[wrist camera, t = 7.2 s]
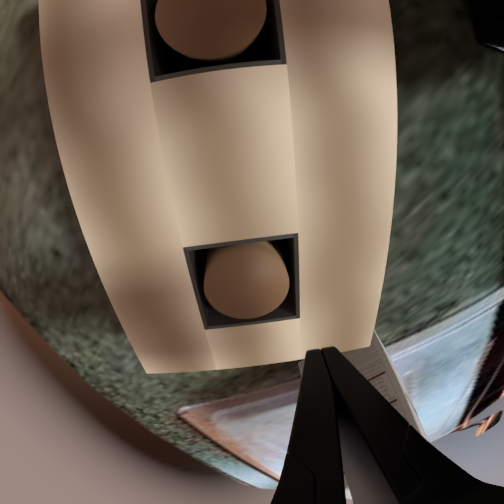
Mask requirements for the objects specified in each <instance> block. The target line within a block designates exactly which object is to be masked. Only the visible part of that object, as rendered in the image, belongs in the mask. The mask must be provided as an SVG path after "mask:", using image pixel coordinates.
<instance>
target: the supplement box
mask: <svg viewBox="0 0 504 504" xmlns="http://www.w3.org/2000/svg"><path fill="white" fill-rule="evenodd" d="M341 353H342V354H343V355H344V356H345V357H346V358H347V359H348V360H349V361H350V362H351V363H352V364H353V366H354V367H355V368H356V369H357V370H358V371H359V372H360V373H361V374H362V375H363V376H364V377H365V378H366V379H367V380H368V381H369V382H370V383H371V384H372V385H373V386H374V387H375V388H376V389H377V390H378V391H379V392H380V393H381V394H382V395H383V396H384V397H385V399H386V400H387V401H388V402H389V403H390V404H391V405H392V406H393V407H394V408H395V409H396V410H397V411H398V412H399V413H400V414H401V415H402V416H403V417H404V418H405V419H406V420H407V421H408V422H409V425H412V426H413V427H414V428H415V429H416V430H417V431H418V432H419V433H420V434H421V435H422V436H423V437H424V438H425V439H426V440H427V441H428V439H427V436H426V434H425V431H424V429H423V427H422V424H421V422H420V420H419V417H418V415H417V413H416V410H415V408H414V406H413V404H412V401H411V399H410V397H409V395H408V392H407V390H406V388H405V386H404V384H403V382H402V380H401V378H400V376H399V374H398V372H397V369H396V367H395V365H394V363H393V361H392V360H391V358H390V357H389V355H388V353H387V351H386V349H385V348H384V346H383V344H382V342H381V341H380V339H379V337H378V335H377V334H376V332H375V330H374V331H373V335H372V340H371V344H370V346H369V347H364V348H360V349H355V350H350V351H345V352H341ZM304 361H305V359H303V360H301V361H300V362H298V366H299V370H300V375H301V379H302V373H303V367H304ZM428 442H429V441H428ZM343 472H344V469H343ZM344 482H345V494H346V499H350V500H352V497H351V493H350V490H349V486H348V483H347V480H346V476H345V473H344Z"/></svg>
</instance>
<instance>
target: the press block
mask: <svg viewBox="0 0 504 504" xmlns="http://www.w3.org/2000/svg"><path fill="white" fill-rule="evenodd" d="M157 2H158V0H39V27H40V42H41V53H42V63H43V71H44V78H45V85H46V92H47V98H48V104H49V110H50V115H51V120H52V125H53V130H54V134H55V139H56V143H57V147H58V152H59V156H60V160H61V163H62V167H63V171H64V175H65V178H66V182H67V185H68V189H69V192H70V195H71V199H72V202H73V205H74V208H75V211H76V214H77V217H78V220H79V223H80V226H81V229H82V232H83V235H84V238H85V240H86V243H87V246H88V248H89V251H90V254H91V256H92V259H93V261H94V264H95V266H96V269H97V271H98V274H99V276H100V279H101V281H102V283H103V286H104V288H105V290H106V293H107V295H108V297H109V299H110V302H111V304H112V306H113V308H114V310H115V313H116V315H117V317H118V319H119V321H120V323H121V325H122V327H123V329H124V331H125V333H126V335H127V337H128V339H129V341H130V343H131V345H132V347H133V349H134V351H135V353H136V355H137V357H138V358H139V360H140V362H141V364H142V366H143V368H144V369H145V371H146V373H147V374H148V373H175V372H193V371H207V370H219V369H230V368H240V367H249V366H257V365H265V364H273V363H280V362H287V361H294V360H300V359H305V355H306V351H307V350H312V349H320V350H321V348H324V347H330V346H334V347H336V348H337V349H338V350H339V351H340V352H345V351H350V350H355V349H360V348H364V347H369V346H370V344H371V340H372V335H373V331H374V326H375V322H376V317H377V312H378V307H379V302H380V297H381V291H382V286H383V280H384V274H385V268H386V261H387V254H388V247H389V239H390V231H391V222H392V213H393V202H394V190H395V176H396V157H397V82H396V64H395V50H394V39H393V29H392V21H391V13H390V6H389V0H266V8H267V11H266V18H265V22H264V24H263V26H262V29H261V33H262V42H263V50H264V59H265V61H253V62H242V63H233V64H225V65H217V66H210V67H204V68H197V69H191V70H186V71H180V72H175V64H174V57H173V49H172V47H170V46H169V45H168V44H167V43H166V42H165V41H164V39H163V38H162V37H161V35H160V33H159V31H158V29H157V26H156V21H155V10H156V5H157ZM278 239H280V242H281V253H282V256H283V260H284V263H285V266H286V270H287V273H288V277H289V290H288V293H287V295H286V297H285V299H284V301H283V302H282V303H281V304H280V305H279V306H278V307H277V308H276V309H275V310H273V311H272V312H270V313H268V314H266V315H263V316H261V317H257V318H252V319H238V318H233V317H229V316H226V315H224V314H222V313H220V312H219V311H217V310H216V309H215V308H214V307H213V306H212V305H211V304H210V303H209V301H208V300H207V298H206V295H205V292H204V277H205V266H206V256H207V251H206V248H214V247H222V246H230V245H238V244H246V243H254V242H262V241H270V240H278Z"/></svg>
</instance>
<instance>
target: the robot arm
mask: <svg viewBox="0 0 504 504" xmlns="http://www.w3.org/2000/svg"><path fill="white" fill-rule="evenodd" d="M471 3H472V9H473V16H474V23H475V31H476V38H477V40H478V41H479V42H480V43H481V44H484V45H487V46H489V47H492V48H495V49H497V50H500V51H502V52H504V0H471ZM482 36H483V38H482ZM343 469H344V472H343ZM344 473H345V476H346V480H347V483H348V486H349V490H350V493H351V497H352V500H353V503H354V504H504V487H502V486H497V485H492V484H488V483H485V482H482V481H480V480H478V479H476V478H474V477H473V476H471V475H470V474H468V473H467V472H466V471H465V470H463V469H462V468H461V467H459V466H458V465H457V464H455V463H454V462H453V461H451V460H450V459H449V458H447V457H446V456H445V455H444V454H442V453H441V452H440V451H438V450H437V449H436V448H435V447H434V446H433V445H431V444H430V443H429V442H428V441H427V440H426V439H425V438H424V437H423V436H422V435H421V434H420V433H419V432H418V431H417V430H416V429H415V428H414V427H413V426H412V425H409V422H408V421H407V420H406V419H405V418H404V417H403V416H402V415H401V414H400V413H399V412H398V411H397V410H396V409H395V408H394V407H393V406H392V405H391V404H390V403H389V402H388V401H387V400H386V399H385V397H384V396H383V395H382V394H381V393H380V392H379V391H378V390H377V389H376V388H375V387H374V386H373V385H372V384H371V383H370V382H369V381H368V380H367V379H366V378H365V377H364V376H363V375H362V374H361V373H360V372H359V371H358V370H357V369H356V368H355V367H354V366H353V364H352V363H351V362H350V361H349V360H348V359H347V358H346V357H345V356H344V355H343V354H342V353H341V352H340V351H339V350H338V349H337V348H336V347H334V346H330V347H324V348H321V350H320V349H312V350H307V351H306V355H305V361H304V367H303V373H302V379H301V384H300V390H299V395H298V400H297V406H296V411H295V416H294V421H293V426H292V431H291V435H290V440H289V445H288V449H287V454H286V458H285V462H284V466H283V470H282V473H281V477H280V480H279V483H278V486H277V489H276V492H275V494H274V496H273V499H272V501H271V504H346V494H345V482H344Z"/></svg>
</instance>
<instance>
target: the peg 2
mask: <svg viewBox="0 0 504 504" xmlns="http://www.w3.org/2000/svg"><path fill="white" fill-rule="evenodd" d="M288 290H289V277H288V273H287V270H286V266H285V263H284V260H283V256H282V253H281V249H280V246H279V243H278V240H270V241H262V242H254V243H246V244H238V245H230V246H222V247H214V248H207V256H206V266H205V277H204V292H205V295H206V298H207V300H208V301H209V303H210V304H211V305H212V306H213V307H214V308H215V309H216V310H217V311H219V312H220V313H222V314H224V315H226V316H229V317H233V318H238V319H252V318H257V317H261V316H263V315H266V314H268V313H270V312H272V311H273V310H275V309H276V308H277V307H278V306H279V305H280V304H281V303H282V302H283V301H284V299H285V297H286V295H287V293H288Z"/></svg>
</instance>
